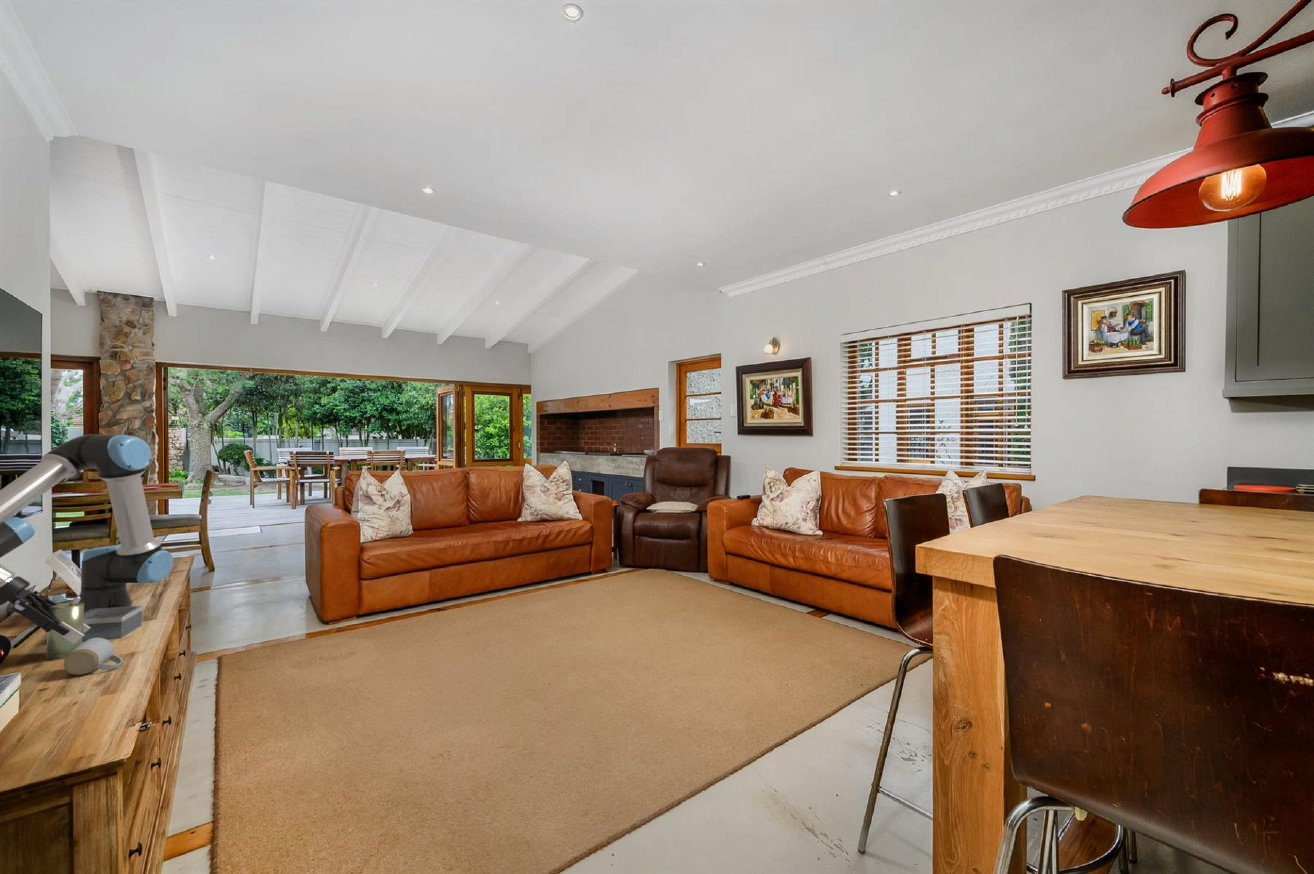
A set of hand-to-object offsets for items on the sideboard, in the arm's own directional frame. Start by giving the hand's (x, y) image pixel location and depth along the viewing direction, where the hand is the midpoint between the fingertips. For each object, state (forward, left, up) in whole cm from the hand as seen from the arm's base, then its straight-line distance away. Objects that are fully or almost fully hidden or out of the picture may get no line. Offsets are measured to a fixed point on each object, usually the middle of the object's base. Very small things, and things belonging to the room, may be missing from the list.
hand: (82, 635), depth 161 cm
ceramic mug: (+16, +10, -5) cm, 19 cm away
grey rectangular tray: (-20, -2, -5) cm, 20 cm away
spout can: (+1, -3, -5) cm, 6 cm away
